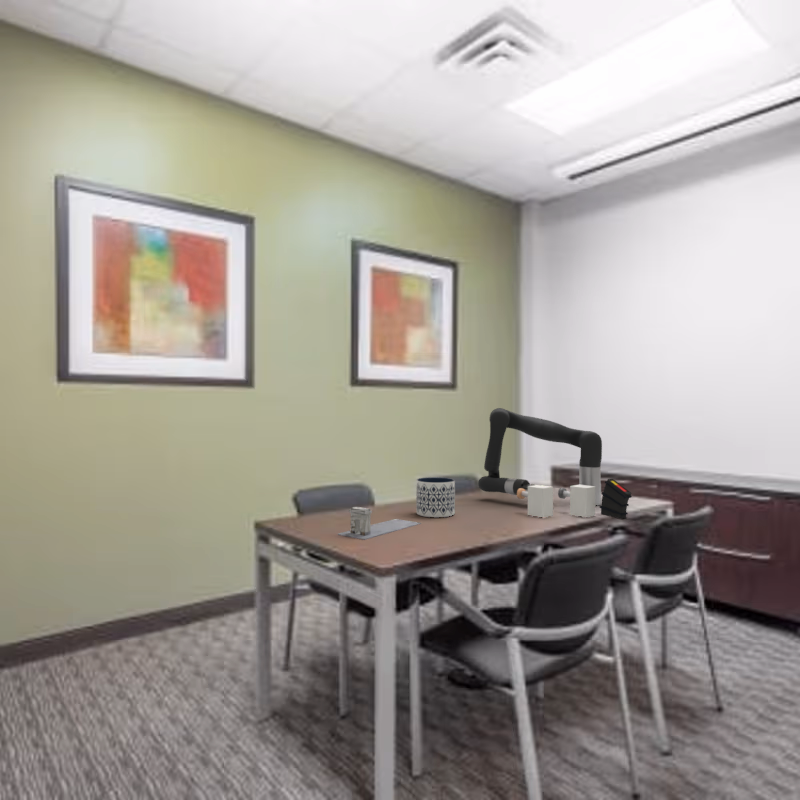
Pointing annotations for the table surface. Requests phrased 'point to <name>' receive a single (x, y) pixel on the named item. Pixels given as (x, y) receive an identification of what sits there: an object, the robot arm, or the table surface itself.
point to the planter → (435, 497)
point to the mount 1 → (540, 500)
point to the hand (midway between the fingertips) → (549, 491)
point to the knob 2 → (563, 493)
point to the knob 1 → (522, 493)
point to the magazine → (614, 499)
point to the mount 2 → (582, 500)
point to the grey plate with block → (372, 530)
